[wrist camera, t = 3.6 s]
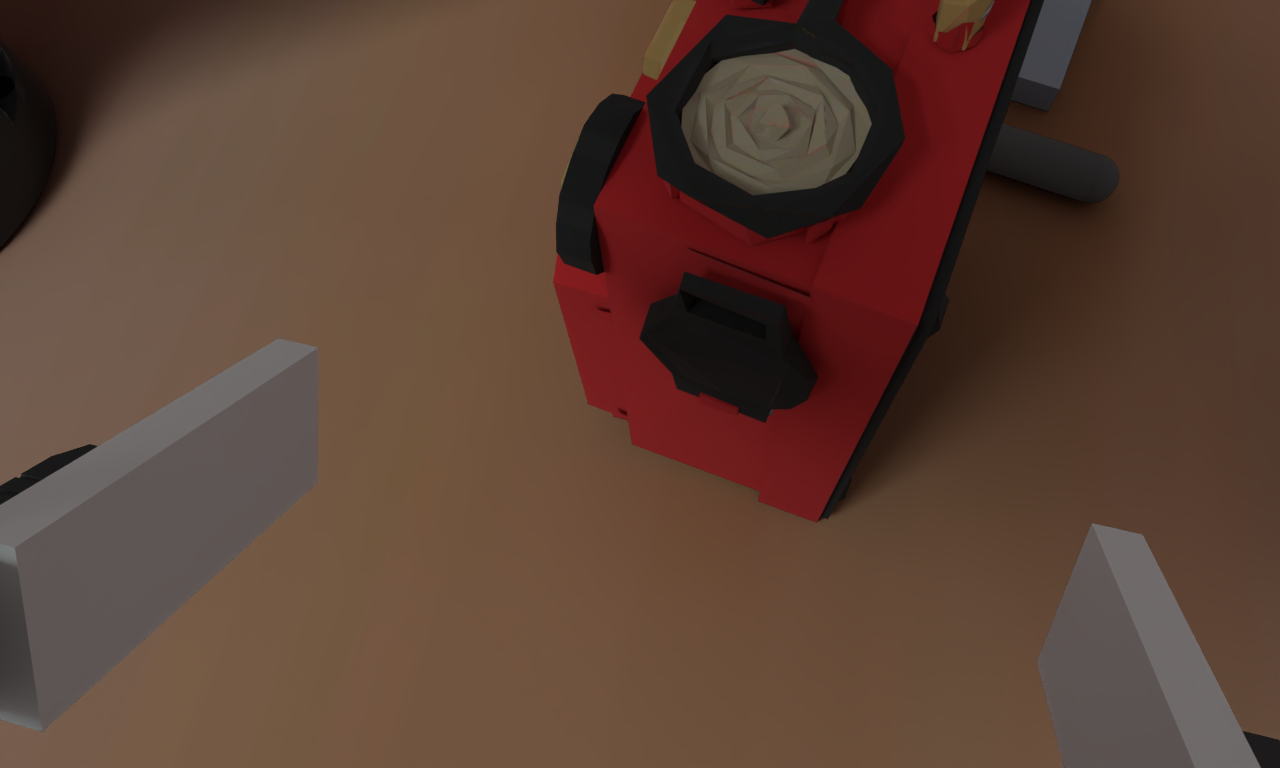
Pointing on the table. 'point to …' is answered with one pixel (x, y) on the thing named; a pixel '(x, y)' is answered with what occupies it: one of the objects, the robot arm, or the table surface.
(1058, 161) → the rod
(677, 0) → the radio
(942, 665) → the table surface
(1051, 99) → the board
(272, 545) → the table surface
